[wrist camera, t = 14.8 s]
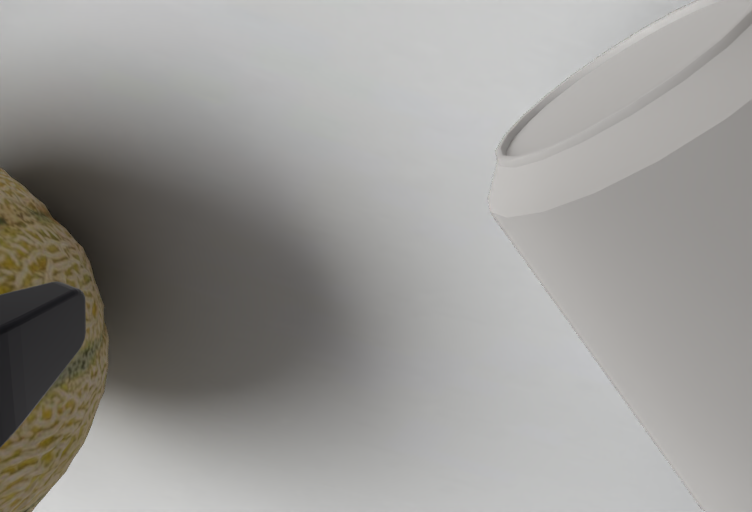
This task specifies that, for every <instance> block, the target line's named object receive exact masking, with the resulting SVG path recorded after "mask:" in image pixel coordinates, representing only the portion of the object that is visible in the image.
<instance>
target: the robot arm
mask: <svg viewBox="0 0 752 512" xmlns="http://www.w3.org/2000/svg"><path fill="white" fill-rule="evenodd" d="M85 335H86V301H85V295H84V293H83V291H81V290H80V289H78V288H75V287H73V286H70V285H68V284H65V283H62V282H50V283H46V284H42V285H37V286H33V287H29V288H25V289H21V290H17V291H13V292H9V293H5V294H0V448H1V447H2V446H3V444H4V443H5V442H6V441H7V440H8V439H9V438H10V437H11V436H12V435H13V434H14V432H15V431H16V430H17V429H18V428H19V427H20V425H21V424H22V423H23V422H24V421H25V419H26V418H27V417H28V416H29V414H30V413H31V412H32V410H33V409H34V408H35V407H36V405H37V404H38V403H39V401H40V400H41V399H42V398H43V396H44V395H45V394H46V392H47V391H48V390H49V389H50V387H51V386H52V385H53V383H54V382H55V381H56V380H57V378H58V377H59V376H60V374H61V373H62V372H63V371H64V369H65V368H66V367H67V365H68V364H69V363H70V362H71V360H72V359H73V358H74V356H75V355H76V354H77V352H78V351H79V350H80V348H81V346H82V345H83V342H84V340H85Z"/></svg>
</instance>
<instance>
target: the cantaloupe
mask: <svg viewBox="0 0 752 512" xmlns="http://www.w3.org/2000/svg"><path fill="white" fill-rule="evenodd" d="M50 282H62V283H65V284H68V285H70V286H73V287H75V288H78V289H80V290H81V291H83V293H84V295H85V301H86V335H85V340H84V342H83V345H82V346H81V348H80V350H79V351H78V352H77V354H76V355H75V356H74V358H73V359H72V360H71V362H70V363H69V364H68V365H67V367H66V368H65V369H64V371H63V372H62V373H61V374H60V376H59V377H58V378H57V380H56V381H55V382H54V383H53V385H52V386H51V387H50V389H49V390H48V391H47V392H46V394H45V395H44V396H43V398H42V399H41V400H40V401H39V403H38V404H37V405H36V407H35V408H34V409H33V410H32V412H31V413H30V414H29V416H28V417H27V418H26V419H25V421H24V422H23V423H22V424H21V425H20V427H19V428H18V429H17V430H16V431H15V432H14V434H13V435H12V436H11V437H10V438H9V439H8V440H7V441H6V442H5V443H4V444H3V446H2V447H1V448H0V512H32V511H33V509H34V508H35V507H36V505H37V504H38V503H39V502H40V501H41V500H42V499H43V498H44V496H45V495H46V494H47V493H48V492H49V490H50V489H51V488H52V487H53V486H54V485H55V484H56V482H57V481H58V480H59V479H60V478H61V477H62V476H63V474H64V473H65V472H66V471H67V469H68V467H69V465H70V464H71V462H72V460H73V459H74V457H75V456H76V454H77V453H78V451H79V450H80V448H81V447H82V445H83V444H84V442H85V439H86V437H87V435H88V433H89V430H90V428H91V425H92V422H93V419H94V416H95V413H96V411H97V408H98V405H99V403H100V400H101V398H102V396H103V393H104V390H105V383H106V377H107V370H108V346H109V337H108V331H107V328H106V325H105V322H104V311H103V310H104V304H103V302H102V299H101V297H100V292H99V290H98V287H97V285H96V282H95V280H94V276H93V272H92V268H91V264H90V261H89V259H88V258H87V256H86V254H85V252H84V248H83V247H82V246H81V245H80V244H79V243H78V242H76V240H75V239H74V238H73V237H72V235H71V234H70V233H69V232H68V231H67V229H66V228H64V227H63V226H62V225H61V224H59V223H58V222H57V221H56V220H54V219H53V218H52V216H51V214H50V213H49V211H48V209H47V208H46V206H45V205H44V204H43V203H42V202H41V201H39V200H38V199H37V198H36V197H35V196H33V195H32V194H31V193H30V192H29V191H28V190H27V189H26V187H25V186H23V185H22V184H21V183H19V182H18V181H16V180H15V179H13V178H12V177H11V176H10V175H9V174H8V173H7V172H6V171H5V170H3V169H2V168H0V294H5V293H9V292H13V291H17V290H21V289H25V288H29V287H33V286H37V285H42V284H46V283H50Z"/></svg>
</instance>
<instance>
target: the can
mask: <svg viewBox="0 0 752 512" xmlns="http://www.w3.org/2000/svg"><path fill="white" fill-rule="evenodd" d="M495 153H496V157H497V163H496V167H495V171H494V175H493V179H492V183H491V187H490V191H489V195H488V203H489V210H490V213H491V214H492V216H493V217H494V219H495V220H496V221H497V223H498V224H499V226H500V227H501V228H502V230H503V231H504V233H505V234H506V235H507V237H508V238H509V240H510V241H511V242H512V244H513V245H514V247H515V248H516V249H517V251H518V252H519V254H520V255H521V256H522V258H523V259H524V261H525V262H526V263H527V265H528V266H529V268H530V269H531V270H532V272H533V273H534V275H535V276H536V278H537V279H538V280H539V282H540V283H541V285H542V286H543V287H544V289H545V290H546V292H547V293H548V294H549V296H550V297H551V299H552V300H553V301H554V303H555V304H556V306H557V307H558V308H559V310H560V311H561V313H562V314H563V315H564V317H565V318H566V320H567V321H568V322H569V324H570V325H571V327H572V328H573V329H574V331H575V332H576V334H577V335H578V336H579V338H580V339H581V341H582V342H583V343H584V345H585V346H586V348H587V349H588V350H589V352H590V353H591V355H592V356H593V358H594V359H595V360H596V362H597V363H598V365H599V366H600V367H601V369H602V370H603V372H604V373H605V374H606V376H607V377H608V379H609V380H610V381H611V383H612V384H613V386H614V387H615V388H616V390H617V391H618V393H619V394H620V395H621V397H622V398H623V400H624V401H625V402H626V404H627V405H628V407H629V408H630V409H631V411H632V412H633V414H634V415H635V416H636V418H637V419H638V421H639V422H640V423H641V425H642V426H643V428H644V429H645V430H646V432H647V433H648V435H649V436H650V437H651V439H652V440H653V442H654V443H655V445H656V446H657V447H658V449H659V450H660V452H661V453H662V454H663V456H664V457H665V459H666V460H667V461H668V463H669V464H670V466H671V467H672V468H673V470H674V471H675V473H676V474H677V475H678V477H679V478H680V480H681V481H682V482H683V484H684V485H685V487H686V488H687V489H688V491H689V492H690V494H691V495H692V496H693V498H694V499H695V501H696V502H697V503H698V505H699V506H700V508H702V509H703V510H704V511H705V512H752V0H696V1H694V2H692V3H690V4H687V5H685V6H683V7H681V8H679V9H677V10H675V11H673V12H671V13H670V14H668V15H666V16H664V17H662V18H661V19H659V20H657V21H655V22H653V23H652V24H650V25H648V26H646V27H644V28H643V29H641V30H639V31H638V32H636V33H634V34H633V35H631V36H630V37H628V38H626V39H625V40H623V41H622V42H620V43H618V44H617V45H615V46H614V47H612V48H610V49H609V50H607V51H606V52H604V53H603V54H601V55H600V56H598V57H597V58H596V59H594V60H593V61H591V62H590V63H588V64H587V65H586V66H584V67H583V68H581V69H580V70H578V71H577V72H575V73H574V74H573V75H571V76H570V77H569V78H567V79H566V80H565V81H564V82H562V83H561V84H560V85H558V86H557V87H556V88H555V89H553V90H552V91H551V92H549V93H548V94H547V95H545V96H544V97H543V98H542V99H541V100H540V101H539V102H537V103H536V104H535V105H534V106H533V107H532V108H531V109H530V110H528V111H527V112H526V113H525V114H524V115H523V116H522V117H521V118H520V119H519V120H518V121H517V122H516V123H515V124H514V125H513V126H512V127H511V129H510V130H509V131H508V132H507V133H506V134H505V135H504V136H503V138H502V140H501V142H500V143H499V145H498V147H497V148H496V150H495Z"/></svg>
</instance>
